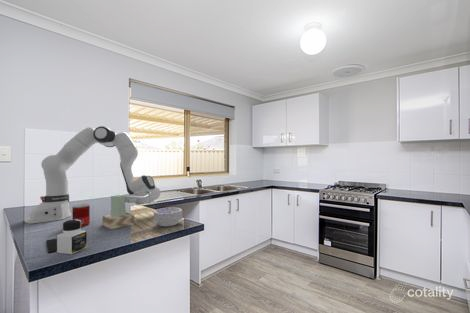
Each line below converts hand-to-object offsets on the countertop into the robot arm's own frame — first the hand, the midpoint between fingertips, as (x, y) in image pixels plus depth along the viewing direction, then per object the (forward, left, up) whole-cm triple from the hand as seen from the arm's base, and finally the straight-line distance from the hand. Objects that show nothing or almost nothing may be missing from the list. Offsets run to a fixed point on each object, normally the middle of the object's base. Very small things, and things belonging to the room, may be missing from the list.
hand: (122, 201), depth 134 cm
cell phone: (-31, -13, -13) cm, 37 cm away
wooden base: (-3, -1, -13) cm, 13 cm away
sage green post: (-3, -1, -8) cm, 8 cm away
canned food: (-17, +14, -13) cm, 25 cm away
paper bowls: (+16, -21, -13) cm, 30 cm away
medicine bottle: (-30, -25, -13) cm, 41 cm away
